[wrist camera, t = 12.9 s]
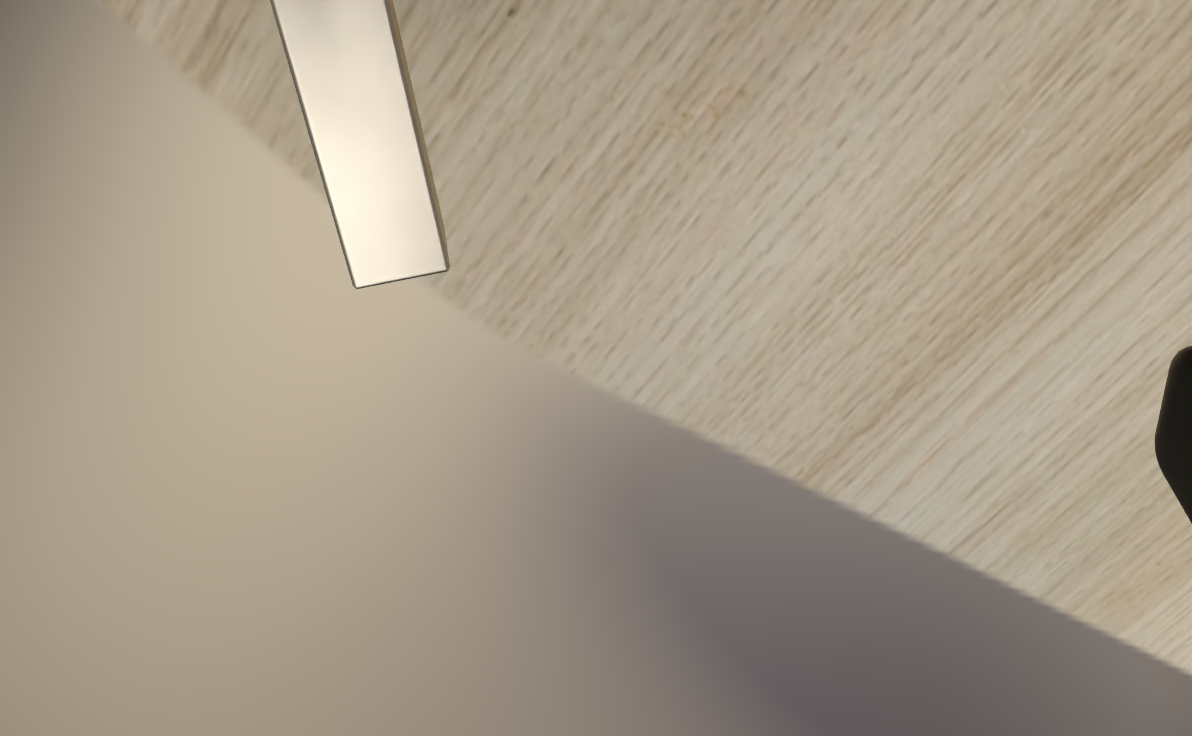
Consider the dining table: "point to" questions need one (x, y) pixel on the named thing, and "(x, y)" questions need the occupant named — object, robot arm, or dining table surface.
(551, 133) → the dining table surface
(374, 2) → the scoop
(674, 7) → the dining table surface
